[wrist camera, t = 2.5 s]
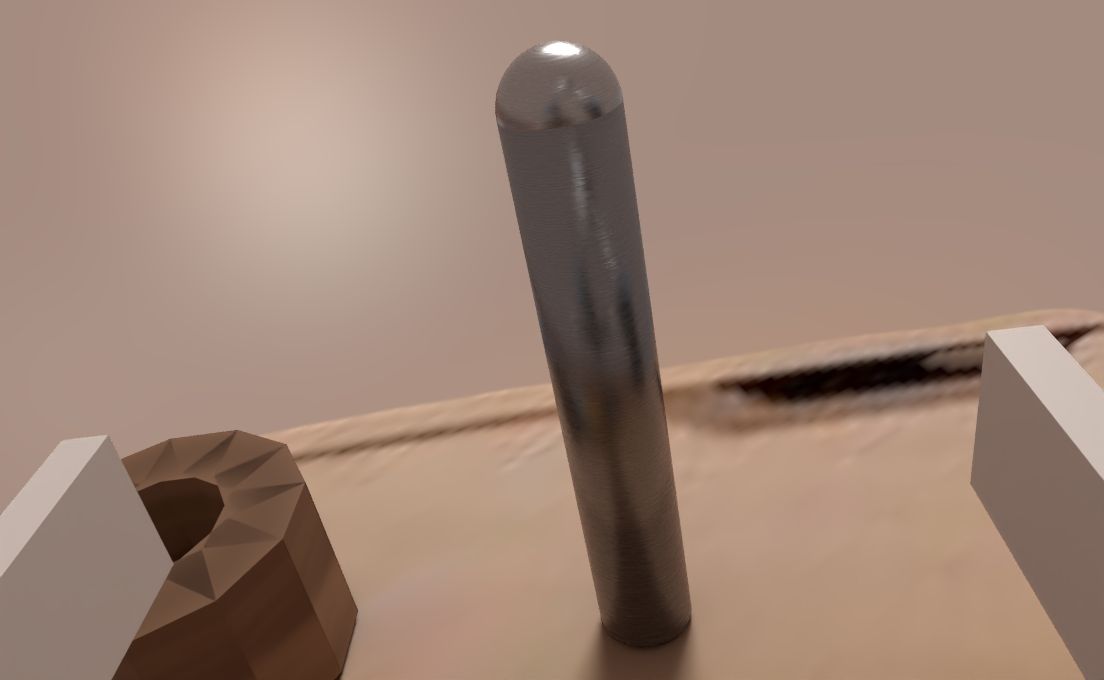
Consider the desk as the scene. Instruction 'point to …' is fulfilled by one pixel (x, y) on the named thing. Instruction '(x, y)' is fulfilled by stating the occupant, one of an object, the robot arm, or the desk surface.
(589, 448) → the round-tipped metal rod
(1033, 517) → the robot arm
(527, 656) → the desk surface
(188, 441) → the bead
